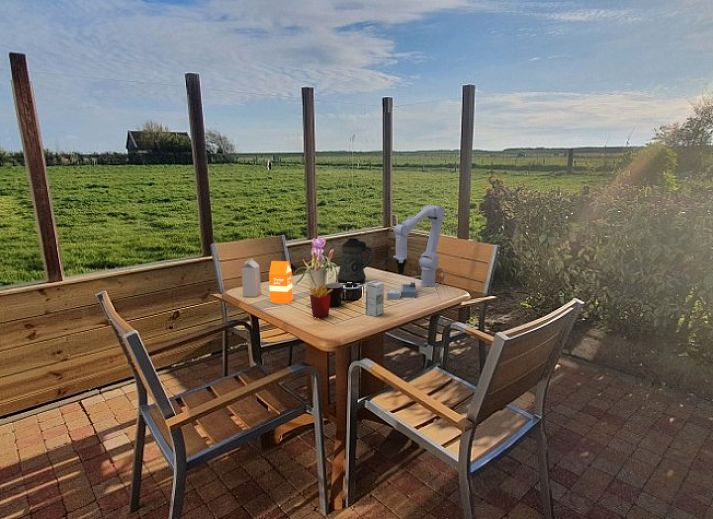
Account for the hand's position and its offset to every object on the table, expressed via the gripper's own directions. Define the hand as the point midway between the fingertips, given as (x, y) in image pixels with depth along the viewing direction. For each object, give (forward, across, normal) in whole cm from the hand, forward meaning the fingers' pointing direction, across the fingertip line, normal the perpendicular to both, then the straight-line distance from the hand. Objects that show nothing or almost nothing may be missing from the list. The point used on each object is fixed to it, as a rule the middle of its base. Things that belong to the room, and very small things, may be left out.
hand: (400, 273), depth 220 cm
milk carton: (+10, +13, -76) cm, 78 cm away
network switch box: (+10, +3, +4) cm, 11 cm away
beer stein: (+10, -19, -27) cm, 35 cm away
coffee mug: (+10, +25, -30) cm, 40 cm away
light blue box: (+10, +10, -3) cm, 15 cm away
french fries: (+10, +42, -33) cm, 54 cm away
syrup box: (+10, +36, -11) cm, 39 cm away
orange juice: (+10, +21, -58) cm, 63 cm away
